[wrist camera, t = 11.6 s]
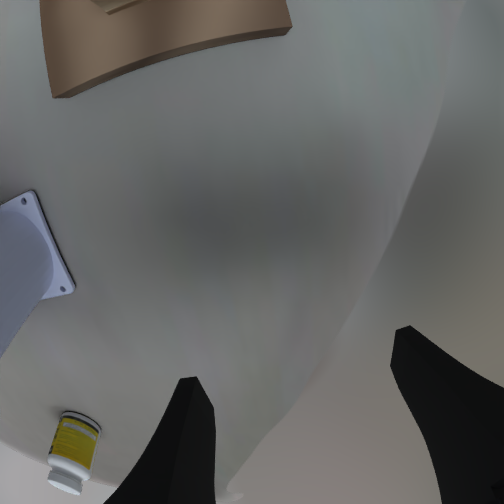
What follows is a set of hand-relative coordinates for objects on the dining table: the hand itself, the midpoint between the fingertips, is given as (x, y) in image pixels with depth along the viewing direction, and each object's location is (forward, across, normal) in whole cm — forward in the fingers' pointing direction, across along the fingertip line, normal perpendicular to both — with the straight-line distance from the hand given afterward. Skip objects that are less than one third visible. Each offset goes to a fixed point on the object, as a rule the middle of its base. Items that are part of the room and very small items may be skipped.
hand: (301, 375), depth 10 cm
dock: (+10, +3, -19) cm, 22 cm away
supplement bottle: (+11, +26, +18) cm, 33 cm away
